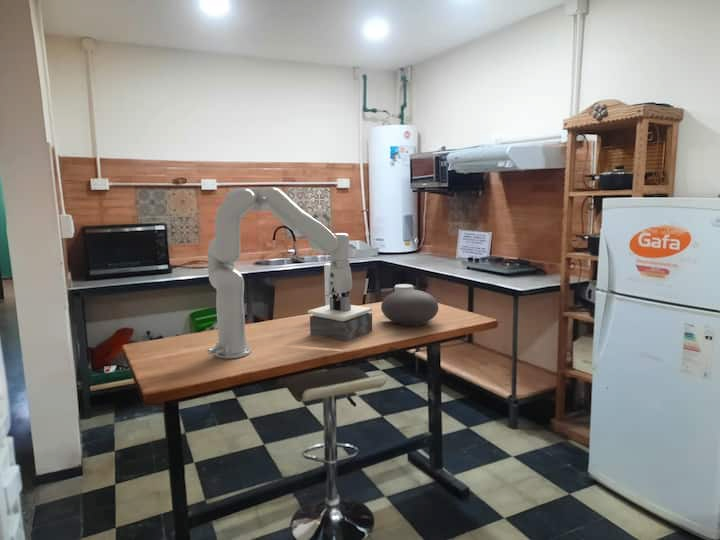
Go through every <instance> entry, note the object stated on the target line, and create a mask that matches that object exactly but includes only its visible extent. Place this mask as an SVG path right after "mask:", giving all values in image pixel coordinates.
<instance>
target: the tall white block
mask: <svg viewBox="0 0 720 540" xmlns="http://www.w3.org/2000/svg"><path fill="white" fill-rule="evenodd" d="M323 269H324V271H323V272H324V276H323V277H324V303H325V304H324V306H326V305H330V297H331V296H329V295H328V293H329V273H330V262H327V263H324V264H323ZM335 295H336V296H337V294H335ZM340 296H341V293H340Z"/></svg>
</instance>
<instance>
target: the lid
mask: <svg viewBox="0 0 720 540" xmlns="http://www.w3.org/2000/svg"><path fill="white" fill-rule="evenodd" d="M339 300H340V310H334V309H333V300H332V297H330V305H326V306H325V305H324V306H323V305H322V306H320V307H316V308H312V309H309V310H307V314H309V315H312V316H316V317H322V318H327V319H332V320H338V321H343V322H344V321H347V320H350V319H353V318H356V317H359V316H362V315H365V314H367V313H371V312H372V311H373V308H372V307H367V306H361V305H355V304H352V303H351V302H352V301H351V297H349V296H348V297H342V296H339Z"/></svg>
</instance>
